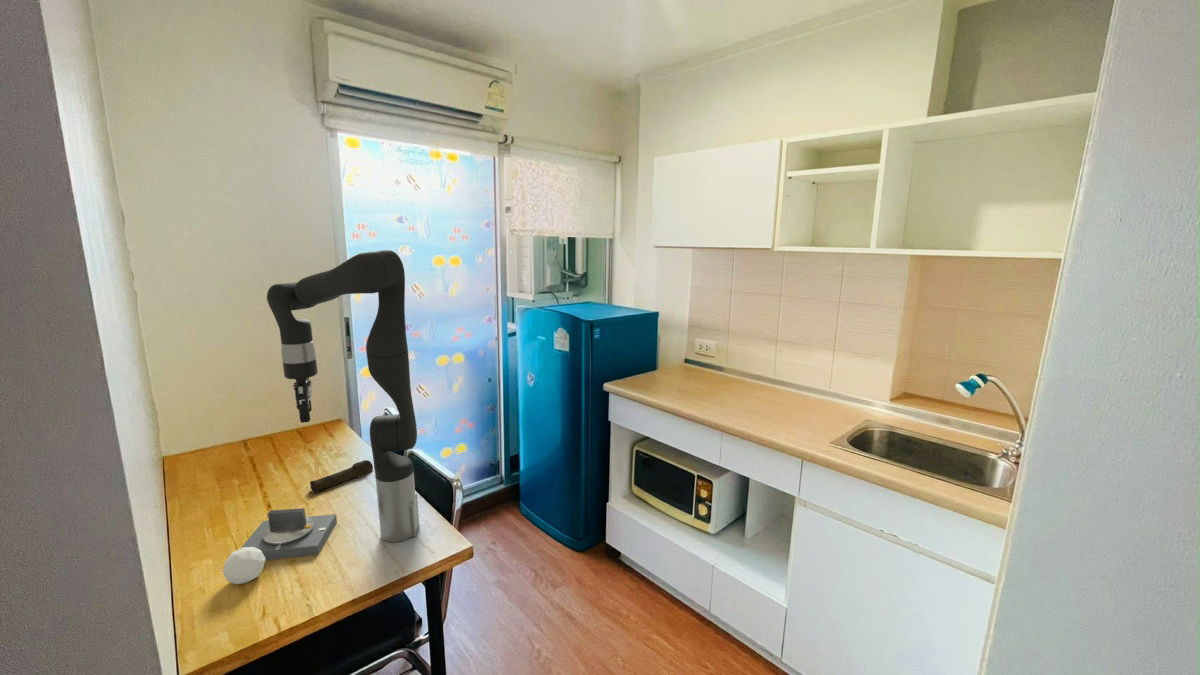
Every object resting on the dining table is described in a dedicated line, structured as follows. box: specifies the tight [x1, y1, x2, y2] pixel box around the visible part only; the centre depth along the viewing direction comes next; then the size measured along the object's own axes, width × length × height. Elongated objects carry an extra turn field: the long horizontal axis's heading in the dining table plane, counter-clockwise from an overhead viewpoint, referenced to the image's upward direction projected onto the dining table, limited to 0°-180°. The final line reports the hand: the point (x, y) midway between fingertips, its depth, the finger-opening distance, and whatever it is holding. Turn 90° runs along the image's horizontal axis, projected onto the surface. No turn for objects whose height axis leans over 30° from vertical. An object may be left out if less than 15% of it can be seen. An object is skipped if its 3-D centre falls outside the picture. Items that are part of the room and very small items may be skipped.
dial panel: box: [239, 513, 338, 561], centre depth 123 cm, size 18×14×3 cm
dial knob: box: [263, 507, 314, 545], centre depth 122 cm, size 11×11×6 cm
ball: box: [222, 546, 266, 585], centre depth 109 cm, size 8×8×8 cm
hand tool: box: [309, 459, 374, 494], centre depth 153 cm, size 19×4×5 cm, turn 140°
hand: (306, 416), depth 128 cm, fingers open, 8 cm apart
